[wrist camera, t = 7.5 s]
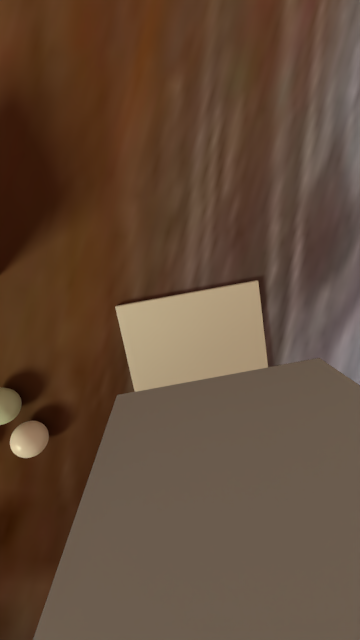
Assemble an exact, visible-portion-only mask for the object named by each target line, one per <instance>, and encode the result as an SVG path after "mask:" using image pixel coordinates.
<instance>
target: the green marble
mask: <svg viewBox="0 0 360 640" xmlns="http://www.w3.org/2000/svg"><path fill="white" fill-rule="evenodd" d="M21 406H22V402H21V398H20V396H19V394H18V393H17V392H16V391H14V390H12V389H9V388H0V425H2V424H6V423H8V422H10V421H12V420H13V419H14V418H15V417H16V416H17V415H18V414H19V412H20V410H21Z"/></svg>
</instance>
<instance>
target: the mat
mask: <svg viewBox="0 0 360 640" xmlns="http://www.w3.org/2000/svg"><path fill="white" fill-rule="evenodd" d="M115 308H116V312H117V317H118V321H119V325H120V330H121V334H122V338H123V343H124V347H125V351H126V356H127V360H128V365H129V369H130V373H131V378H132V382H133V386H134V391H135V392H137V391H142V390H148V389H153V388H159V387H164V386H170V385H175V384H180V383H186V382H191V381H197V380H202V379H208V378H213V377H219V376H224V375H230V374H235V373H240V372H246V371H251V370H257V369H262V368H268V362H267V354H266V345H265V336H264V327H263V318H262V310H261V301H260V292H259V283H258V281H257V280H255V281H249V282H244V283H238V284H233V285H227V286H222V287H216V288H211V289H205V290H200V291H194V292H189V293H183V294H178V295H172V296H167V297H161V298H156V299H150V300H145V301H139V302H134V303H128V304H123V305H117V306H116V307H115Z"/></svg>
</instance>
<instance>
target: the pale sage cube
mask: <svg viewBox="0 0 360 640" xmlns="http://www.w3.org/2000/svg"><path fill="white" fill-rule="evenodd" d="M33 640H360V385H358V384H357V383H355V382H354V381H352V380H351V379H349V378H348V377H346V376H345V375H344V374H342V373H341V372H339V371H338V370H336V369H335V368H333V367H332V366H330V365H329V364H327V363H326V362H324V361H323V360H321V359H320V358H317V359H311V360H306V361H300V362H295V363H290V364H284V365H279V366H273V367H268V368H262V369H257V370H251V371H246V372H240V373H235V374H230V375H224V376H219V377H213V378H208V379H202V380H197V381H191V382H186V383H180V384H175V385H170V386H164V387H159V388H153V389H148V390H142V391H137V392H131V393H126V394H120V395H117V397H116V400H115V403H114V406H113V409H112V412H111V414H110V417H109V420H108V423H107V426H106V429H105V432H104V435H103V438H102V441H101V443H100V446H99V449H98V452H97V455H96V458H95V461H94V464H93V467H92V470H91V473H90V475H89V478H88V481H87V484H86V487H85V490H84V493H83V496H82V499H81V502H80V504H79V507H78V510H77V513H76V516H75V519H74V522H73V525H72V528H71V531H70V533H69V536H68V539H67V542H66V545H65V548H64V551H63V554H62V557H61V560H60V562H59V565H58V568H57V571H56V574H55V577H54V580H53V583H52V586H51V589H50V592H49V594H48V597H47V600H46V603H45V606H44V609H43V612H42V615H41V618H40V621H39V623H38V626H37V629H36V632H35V635H34V638H33Z"/></svg>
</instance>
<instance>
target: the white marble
mask: <svg viewBox="0 0 360 640" xmlns="http://www.w3.org/2000/svg"><path fill="white" fill-rule="evenodd" d="M48 440H49V433H48V430H47V428H46V426H45V425H44V424H42V423H41V422H38V421H27V422H24V423H22V424H20V425H19V426H18V427H17V428H16V429H15V430H14V431H13V433H12V435H11V438H10V447H11V450H12V451H13V453H14V454H15V455H17V456H19V457H22V458H31V457H34V456H36V455H38V454H39V453H41V452H42V451H43V450H44V448H45V447H46V445H47V443H48Z"/></svg>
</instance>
